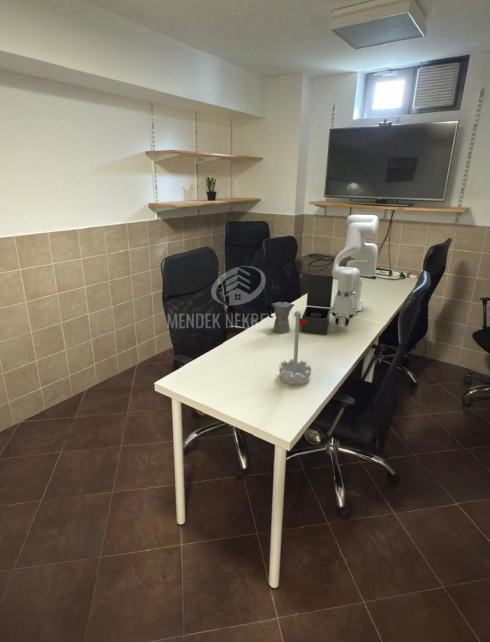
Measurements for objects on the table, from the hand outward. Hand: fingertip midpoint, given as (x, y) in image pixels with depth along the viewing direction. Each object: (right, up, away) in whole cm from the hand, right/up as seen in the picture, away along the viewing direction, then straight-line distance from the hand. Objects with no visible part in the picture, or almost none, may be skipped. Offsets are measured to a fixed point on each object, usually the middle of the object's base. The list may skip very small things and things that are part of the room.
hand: (341, 324), depth 195 cm
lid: (-10, +19, +9) cm, 23 cm away
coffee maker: (-13, -2, +5) cm, 14 cm away
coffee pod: (0, 0, 0) cm, 0 cm away
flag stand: (-33, -19, -46) cm, 60 cm away
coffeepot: (-34, -3, +2) cm, 34 cm away
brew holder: (-14, -3, +2) cm, 15 cm away
